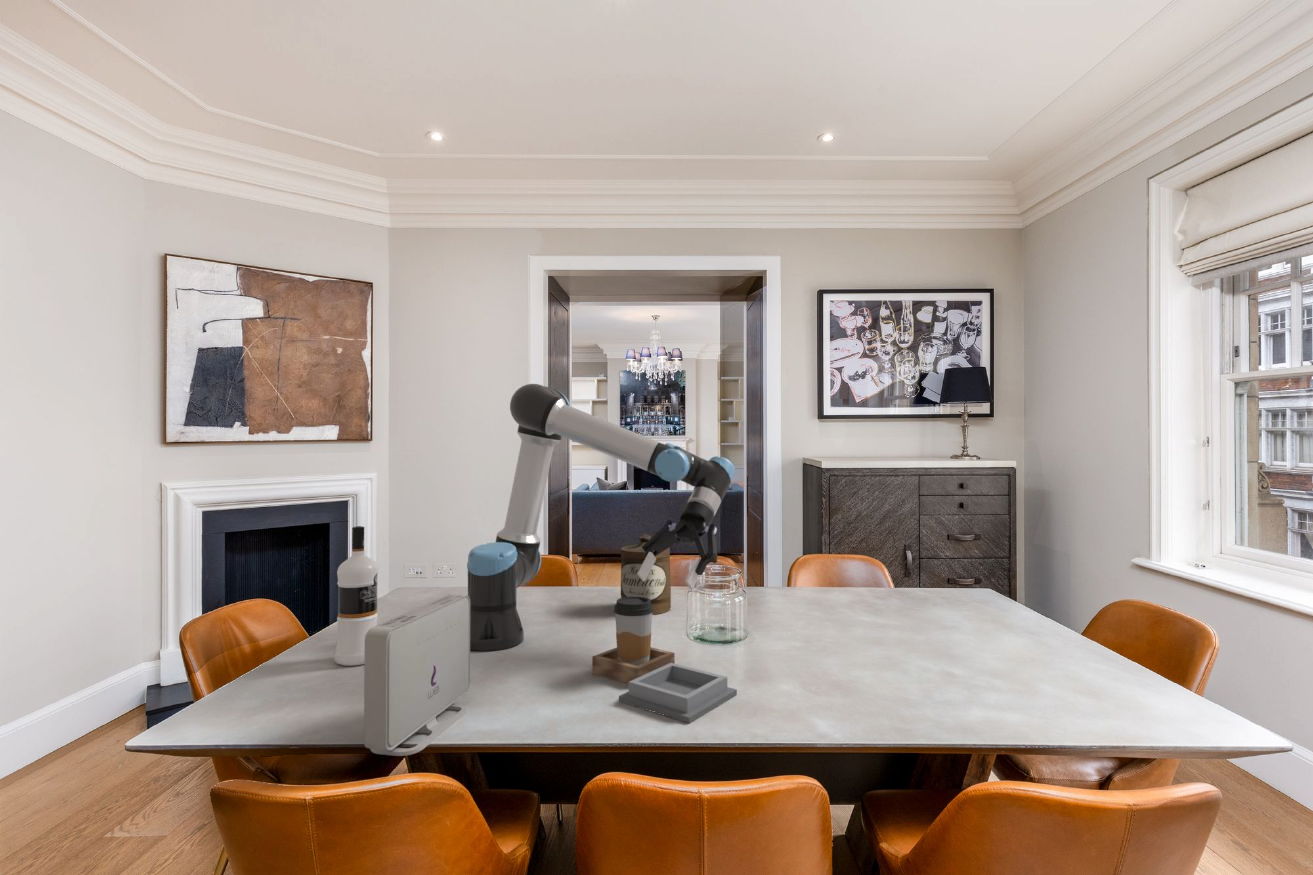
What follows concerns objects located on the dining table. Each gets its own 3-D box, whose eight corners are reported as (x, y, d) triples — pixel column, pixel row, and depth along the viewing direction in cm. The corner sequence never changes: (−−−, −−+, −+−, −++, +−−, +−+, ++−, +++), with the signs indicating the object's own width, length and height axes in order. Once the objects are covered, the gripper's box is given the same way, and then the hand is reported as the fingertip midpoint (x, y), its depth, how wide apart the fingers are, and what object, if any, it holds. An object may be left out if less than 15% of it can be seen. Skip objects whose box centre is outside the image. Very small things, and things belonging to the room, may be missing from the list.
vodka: (345, 653, 147) (346, 524, 147) (386, 653, 147) (387, 523, 148) (326, 667, 137) (327, 529, 138) (369, 667, 138) (370, 528, 138)
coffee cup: (658, 667, 137) (658, 597, 137) (645, 680, 129) (645, 606, 130) (623, 662, 140) (622, 594, 140) (607, 675, 132) (607, 603, 132)
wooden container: (615, 614, 181) (615, 537, 182) (626, 602, 196) (626, 530, 196) (666, 616, 179) (666, 538, 179) (674, 603, 194) (673, 531, 194)
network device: (399, 768, 94) (400, 632, 94) (347, 762, 96) (348, 629, 96) (481, 701, 119) (481, 594, 119) (438, 697, 121) (439, 592, 121)
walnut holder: (592, 673, 133) (592, 656, 133) (630, 657, 143) (630, 642, 143) (637, 686, 126) (637, 668, 126) (674, 669, 136) (674, 652, 136)
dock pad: (619, 701, 119) (618, 682, 119) (669, 676, 131) (669, 659, 131) (689, 723, 109) (689, 702, 109) (736, 694, 122) (736, 676, 122)
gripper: (750, 523, 150) (717, 598, 138) (666, 516, 165) (629, 584, 153) (739, 502, 146) (703, 578, 134) (653, 497, 161) (614, 565, 149)
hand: (664, 581), depth 143 cm, fingers open, 13 cm apart
